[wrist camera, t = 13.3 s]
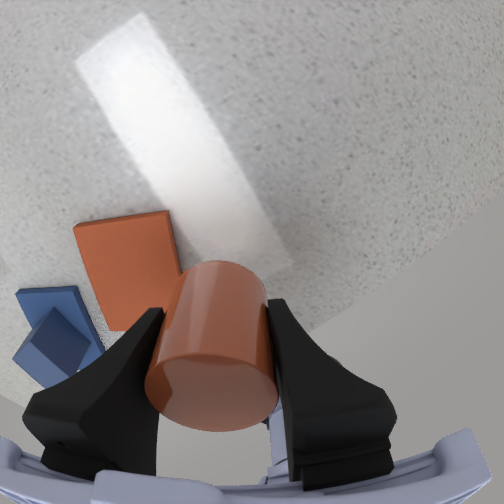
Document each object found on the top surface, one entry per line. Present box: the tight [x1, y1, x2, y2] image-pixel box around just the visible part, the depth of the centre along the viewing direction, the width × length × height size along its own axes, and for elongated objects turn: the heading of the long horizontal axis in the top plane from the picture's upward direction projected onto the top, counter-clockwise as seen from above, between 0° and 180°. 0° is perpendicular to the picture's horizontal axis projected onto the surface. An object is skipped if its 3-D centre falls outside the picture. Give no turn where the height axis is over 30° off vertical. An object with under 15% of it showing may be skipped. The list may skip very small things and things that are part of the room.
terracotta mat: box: [73, 211, 182, 331], centre depth 21 cm, size 9×7×1 cm
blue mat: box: [15, 286, 106, 370], centre depth 23 cm, size 9×7×1 cm
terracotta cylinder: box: [144, 260, 279, 432], centre depth 12 cm, size 4×4×6 cm
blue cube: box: [12, 307, 91, 389], centre depth 21 cm, size 4×4×4 cm
